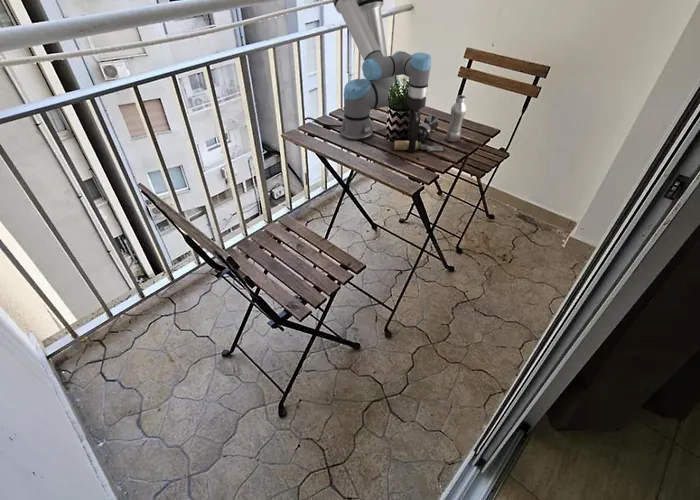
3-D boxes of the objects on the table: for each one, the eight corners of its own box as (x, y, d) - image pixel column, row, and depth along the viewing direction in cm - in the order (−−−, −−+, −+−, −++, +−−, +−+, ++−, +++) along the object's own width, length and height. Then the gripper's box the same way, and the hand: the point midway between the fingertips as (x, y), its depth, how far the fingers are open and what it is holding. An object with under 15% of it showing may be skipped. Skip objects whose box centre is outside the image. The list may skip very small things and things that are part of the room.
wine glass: (420, 118, 186) (408, 129, 175) (434, 111, 180) (424, 122, 170) (427, 133, 188) (416, 145, 178) (441, 127, 183) (431, 139, 173)
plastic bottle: (442, 139, 179) (449, 96, 166) (452, 135, 182) (460, 92, 169) (452, 145, 175) (461, 101, 162) (462, 140, 178) (472, 97, 165)
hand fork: (394, 151, 170) (395, 143, 168) (393, 147, 173) (394, 139, 171) (443, 151, 171) (444, 143, 168) (441, 147, 174) (443, 139, 171)
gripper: (405, 88, 163) (399, 140, 178) (410, 104, 150) (404, 158, 165) (422, 88, 163) (416, 140, 178) (429, 104, 150) (422, 158, 165)
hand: (410, 149), depth 172 cm, fingers open, 4 cm apart
